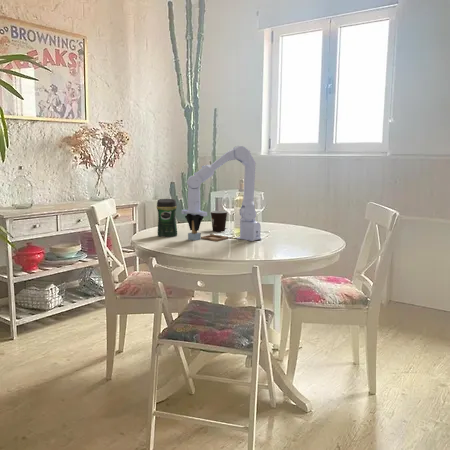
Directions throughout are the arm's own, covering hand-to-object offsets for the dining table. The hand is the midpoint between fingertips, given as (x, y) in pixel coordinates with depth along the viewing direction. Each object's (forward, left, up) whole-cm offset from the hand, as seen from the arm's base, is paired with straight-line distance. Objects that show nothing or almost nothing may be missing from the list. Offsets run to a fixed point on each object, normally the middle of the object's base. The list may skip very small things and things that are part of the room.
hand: (194, 230), depth 227 cm
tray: (-6, -7, -5) cm, 11 cm away
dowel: (0, 0, -3) cm, 3 cm away
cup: (0, 0, -5) cm, 5 cm away
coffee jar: (+17, +1, -5) cm, 18 cm away
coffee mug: (+9, -29, -5) cm, 31 cm away
